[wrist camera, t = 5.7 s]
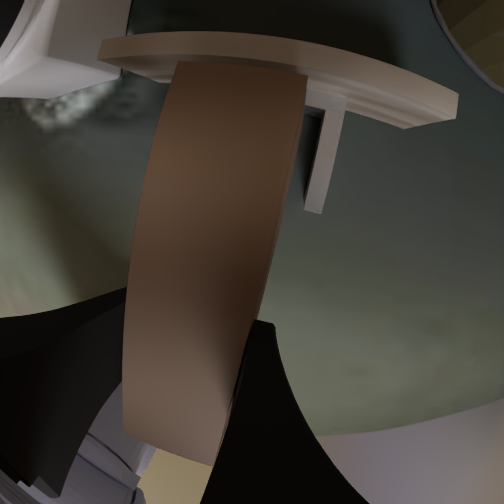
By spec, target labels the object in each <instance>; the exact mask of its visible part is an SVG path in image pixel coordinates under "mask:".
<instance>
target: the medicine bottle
mask: <svg viewBox="0 0 504 504" xmlns="http://www.w3.org/2000/svg"><path fill="white" fill-rule="evenodd" d="M131 1H132V0H0V97H23V98H42V99H53V98H56V97H59V96H62V95H64V94H67V93H70V92H73V91H76V90H79V89H83V88H86V87H89V86H93V85H96V84H100V83H103V82H107V81H111V80H115V79H118V78H119V77H120V75H121V68H120V67H117V66H114V65H111V64H108V63H105V62H102V61H99V60H97V57H98V53H99V49H100V46H101V43H102V39H107V38H114V37H120V36H125V35H126V29H127V23H128V17H129V11H130V6H131Z"/></svg>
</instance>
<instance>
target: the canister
mask: <svg viewBox="0 0 504 504" xmlns="http://www.w3.org/2000/svg"><path fill="white" fill-rule="evenodd" d="M430 1H431V4H432V8H433V11H434V14H435V16H436V18H437V20H438V22H439V24H440V26H441V28H442V30H443V32H444V33H445V35H446V36H447V38H448V39H449V41H450V42H451V44H452V45H453V47H454V49H455V50H456V51H457V53H458V54H459V55H460V56H461V58H462V59H463V60H464V62H465V63H466V64H467V65H468V66H469V67H470V68H471V69H472V70H473V71H474V72H475V73H476V74H477V75H478V76H479V77H480V78H481V79H482V80H484V81H485V82H486V83H487V84H488V85H490V86H491V87H492V88H494V89H495V90H497V91H499V92H501V93H502V94H504V0H430Z"/></svg>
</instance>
